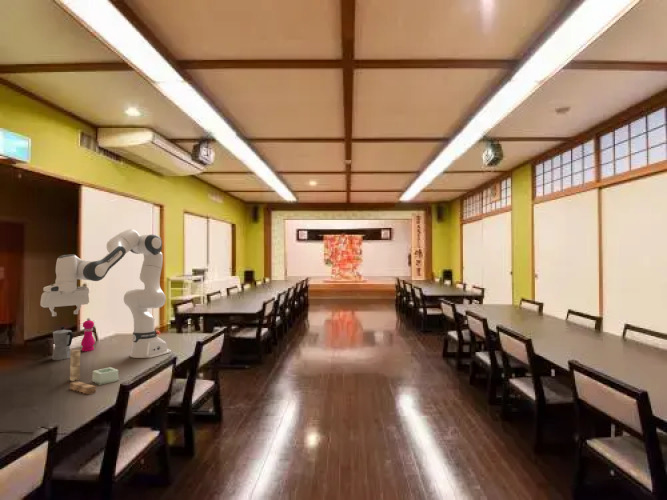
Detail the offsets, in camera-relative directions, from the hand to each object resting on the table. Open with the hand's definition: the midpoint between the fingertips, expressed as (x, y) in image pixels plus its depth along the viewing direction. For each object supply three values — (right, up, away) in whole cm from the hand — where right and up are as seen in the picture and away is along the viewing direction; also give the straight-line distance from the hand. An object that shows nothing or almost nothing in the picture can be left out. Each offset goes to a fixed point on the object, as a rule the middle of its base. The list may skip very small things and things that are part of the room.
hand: (65, 315), depth 193 cm
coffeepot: (-22, -30, +30) cm, 47 cm away
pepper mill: (-20, -30, +49) cm, 61 cm away
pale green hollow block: (+25, -30, -9) cm, 40 cm away
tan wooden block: (+10, -29, -8) cm, 32 cm away
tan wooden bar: (+23, -30, -23) cm, 44 cm away
